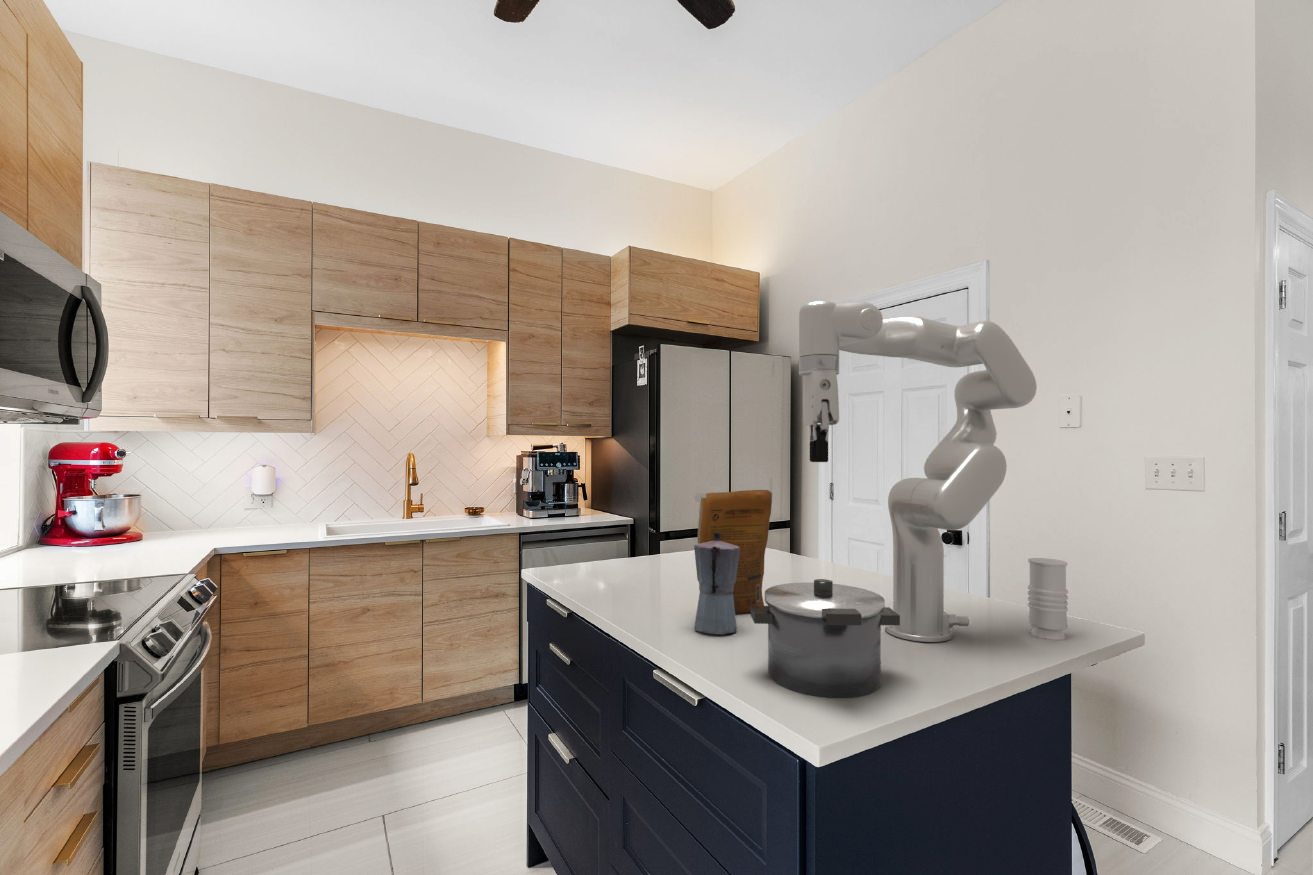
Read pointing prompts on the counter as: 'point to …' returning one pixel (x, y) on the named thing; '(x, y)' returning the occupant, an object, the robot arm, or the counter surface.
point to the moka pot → (716, 586)
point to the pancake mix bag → (740, 537)
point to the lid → (825, 601)
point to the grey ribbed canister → (1047, 598)
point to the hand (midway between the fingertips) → (818, 461)
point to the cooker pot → (824, 652)
